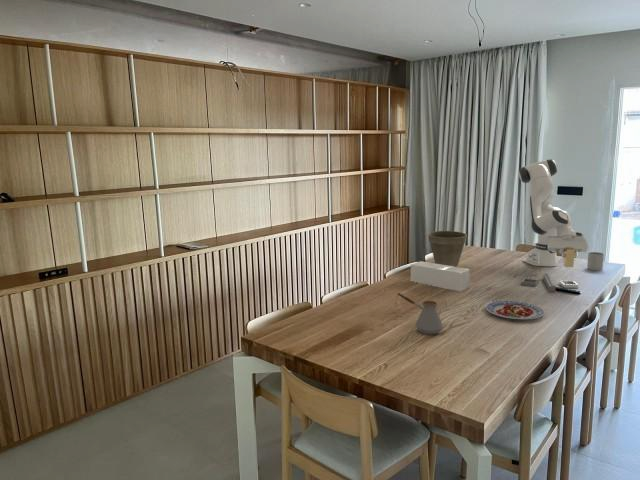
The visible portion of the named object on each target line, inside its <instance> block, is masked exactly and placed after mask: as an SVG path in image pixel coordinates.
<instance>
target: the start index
mask: <svg viewBox="0 0 640 480" xmlns="http://www.w3.org/2000/svg"><path fill="white" fill-rule="evenodd" d="M559 285H560V286H561V287H562V288H563V287H564V288H563V289H579V284H578V283H577V282H576V281H575V280H559Z"/></svg>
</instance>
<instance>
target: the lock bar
mask: <svg viewBox="0 0 640 480" xmlns="http://www.w3.org/2000/svg"><path fill="white" fill-rule="evenodd" d="M563 253H565V254H566V257H563V266H564V267H565V268H574V263H575V258H574V254H575V249H574V248H572V247H566V248H565V251H563Z"/></svg>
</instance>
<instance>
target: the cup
mask: <svg viewBox="0 0 640 480" xmlns="http://www.w3.org/2000/svg"><path fill="white" fill-rule="evenodd" d="M604 256H605V253H602V252H597V251H596V252H595V251H594V252H593V251H589V252H588V255H587V263H586V264H587V265H586V269H588V270H589V269H590V270H591V271H597V272H599V271H603V269H604V268H603V267H604Z"/></svg>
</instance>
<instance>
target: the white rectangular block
mask: <svg viewBox="0 0 640 480" xmlns="http://www.w3.org/2000/svg"><path fill="white" fill-rule="evenodd" d="M470 271H471V269H470V268H466V267H459V266H457V267H453V266H447V265H441V264H435V262H428V261H422V260H421V261H420V260H419V261H417V262H413V263H410V282H411V281H414V282H413V283H416V282H418V283H417V284H421V283H423V284H422V285H426V284H427V285H426V286H431V285H432V287H436V286H437V288H441V289H445V290H452V291H457V292H462V291H464V290H466V289H468V288H469V287H470V275H471V274H470Z"/></svg>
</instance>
